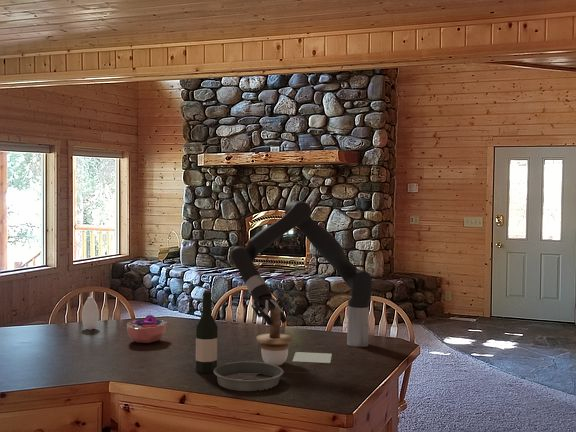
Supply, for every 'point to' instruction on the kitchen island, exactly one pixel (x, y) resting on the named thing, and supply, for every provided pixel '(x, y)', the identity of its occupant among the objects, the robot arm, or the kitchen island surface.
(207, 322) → the wine bottle
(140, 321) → the cell model
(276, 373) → the cake pan
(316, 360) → the mat
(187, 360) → the kitchen island surface
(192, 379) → the kitchen island surface
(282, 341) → the lid
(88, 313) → the sauce bottle
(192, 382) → the kitchen island surface
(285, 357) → the lidded jar
